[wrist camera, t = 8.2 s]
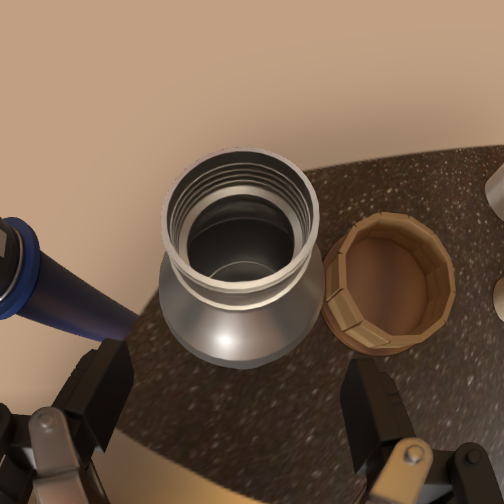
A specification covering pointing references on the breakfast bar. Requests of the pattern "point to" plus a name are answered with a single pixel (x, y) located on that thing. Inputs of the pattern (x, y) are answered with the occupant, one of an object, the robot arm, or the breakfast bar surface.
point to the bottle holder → (387, 285)
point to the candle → (499, 298)
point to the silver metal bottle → (241, 258)
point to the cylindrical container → (496, 192)
